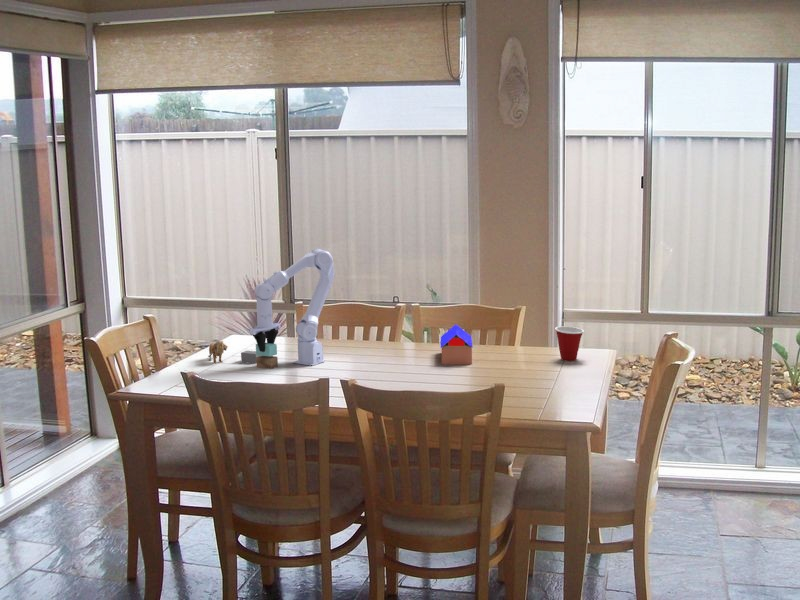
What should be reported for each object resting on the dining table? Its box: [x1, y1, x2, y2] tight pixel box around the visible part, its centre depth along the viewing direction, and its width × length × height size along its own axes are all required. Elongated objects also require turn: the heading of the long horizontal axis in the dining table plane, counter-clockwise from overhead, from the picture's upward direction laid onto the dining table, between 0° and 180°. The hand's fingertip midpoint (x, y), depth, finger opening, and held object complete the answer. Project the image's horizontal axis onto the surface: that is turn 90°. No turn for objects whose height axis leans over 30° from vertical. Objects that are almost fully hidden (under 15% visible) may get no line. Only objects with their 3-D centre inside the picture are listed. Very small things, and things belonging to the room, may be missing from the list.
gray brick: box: [240, 350, 261, 365], centre depth 348 cm, size 7×4×4 cm, turn 64°
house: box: [440, 324, 474, 365], centre depth 345 cm, size 12×20×12 cm, turn 177°
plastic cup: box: [554, 325, 585, 362], centre depth 339 cm, size 11×11×12 cm
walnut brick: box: [256, 355, 279, 370], centre depth 339 cm, size 7×4×4 cm, turn 61°
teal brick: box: [255, 342, 278, 356], centre depth 339 cm, size 7×4×4 cm, turn 55°
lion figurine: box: [207, 340, 229, 365], centre depth 350 cm, size 15×5×9 cm, turn 35°
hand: (266, 350), depth 339 cm, fingers closed on teal brick, 4 cm apart
